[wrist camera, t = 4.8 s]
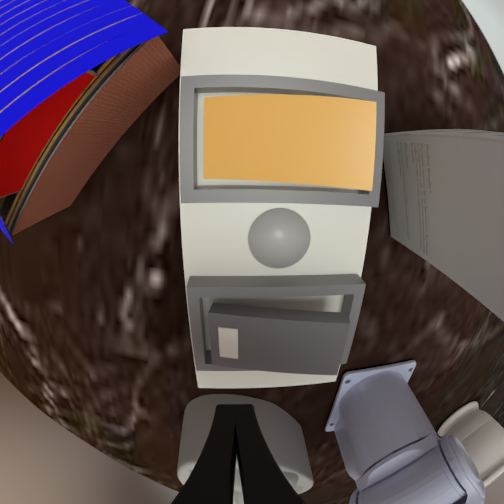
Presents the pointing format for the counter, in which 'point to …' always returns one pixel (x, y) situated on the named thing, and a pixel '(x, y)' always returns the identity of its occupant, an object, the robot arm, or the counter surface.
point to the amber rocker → (290, 139)
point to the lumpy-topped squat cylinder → (272, 427)
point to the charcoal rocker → (277, 339)
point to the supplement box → (451, 204)
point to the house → (69, 96)
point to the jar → (478, 439)
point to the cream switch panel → (270, 193)
